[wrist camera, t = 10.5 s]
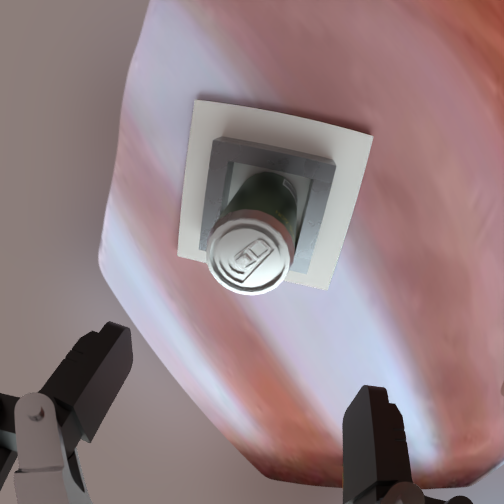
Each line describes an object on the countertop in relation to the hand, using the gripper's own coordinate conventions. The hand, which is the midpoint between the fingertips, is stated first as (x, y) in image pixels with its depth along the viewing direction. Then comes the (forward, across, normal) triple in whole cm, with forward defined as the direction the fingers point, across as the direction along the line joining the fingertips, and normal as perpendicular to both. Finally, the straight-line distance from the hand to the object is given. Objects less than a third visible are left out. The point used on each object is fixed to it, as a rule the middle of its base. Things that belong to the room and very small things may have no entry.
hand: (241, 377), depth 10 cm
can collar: (+22, +1, +1) cm, 22 cm away
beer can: (+21, +1, +1) cm, 21 cm away
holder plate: (+22, +1, +1) cm, 22 cm away
